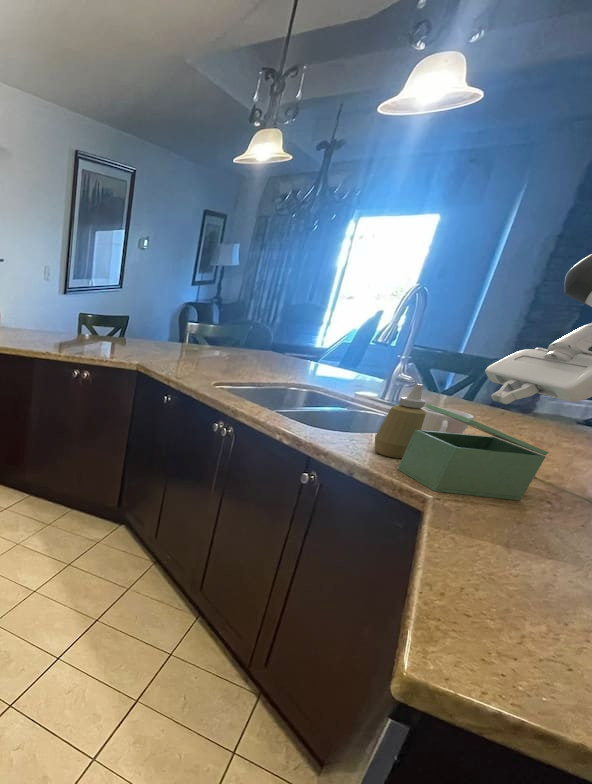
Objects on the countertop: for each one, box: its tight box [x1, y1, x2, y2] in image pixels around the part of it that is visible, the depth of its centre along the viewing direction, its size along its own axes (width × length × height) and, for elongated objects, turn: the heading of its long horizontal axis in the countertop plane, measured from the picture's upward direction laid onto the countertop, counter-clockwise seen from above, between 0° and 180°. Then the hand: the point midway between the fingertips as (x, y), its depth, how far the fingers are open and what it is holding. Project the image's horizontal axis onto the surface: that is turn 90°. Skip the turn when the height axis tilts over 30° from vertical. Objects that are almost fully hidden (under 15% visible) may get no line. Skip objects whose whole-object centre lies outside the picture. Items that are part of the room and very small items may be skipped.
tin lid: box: [424, 403, 549, 457], centre depth 102 cm, size 16×13×1 cm
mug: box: [421, 406, 475, 434], centre depth 127 cm, size 10×15×10 cm
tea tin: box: [396, 430, 547, 501], centre depth 105 cm, size 16×13×10 cm
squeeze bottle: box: [374, 383, 427, 459], centre depth 120 cm, size 8×8×18 cm
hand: (497, 400), depth 100 cm, fingers closed
